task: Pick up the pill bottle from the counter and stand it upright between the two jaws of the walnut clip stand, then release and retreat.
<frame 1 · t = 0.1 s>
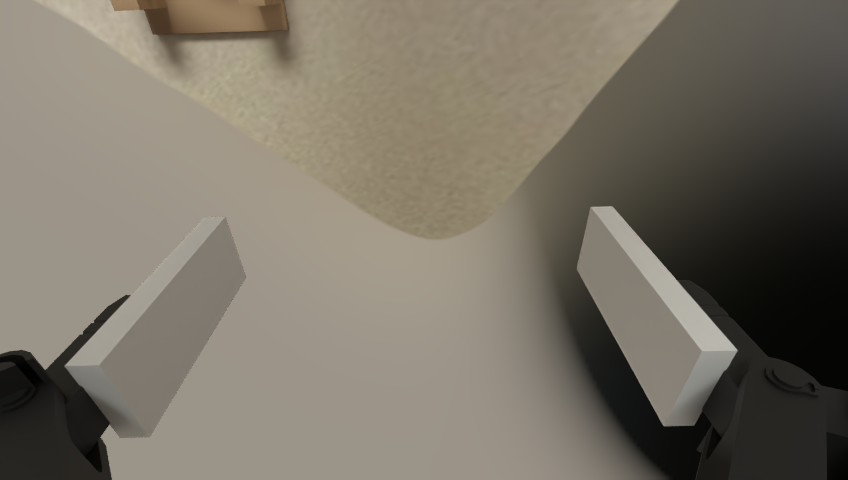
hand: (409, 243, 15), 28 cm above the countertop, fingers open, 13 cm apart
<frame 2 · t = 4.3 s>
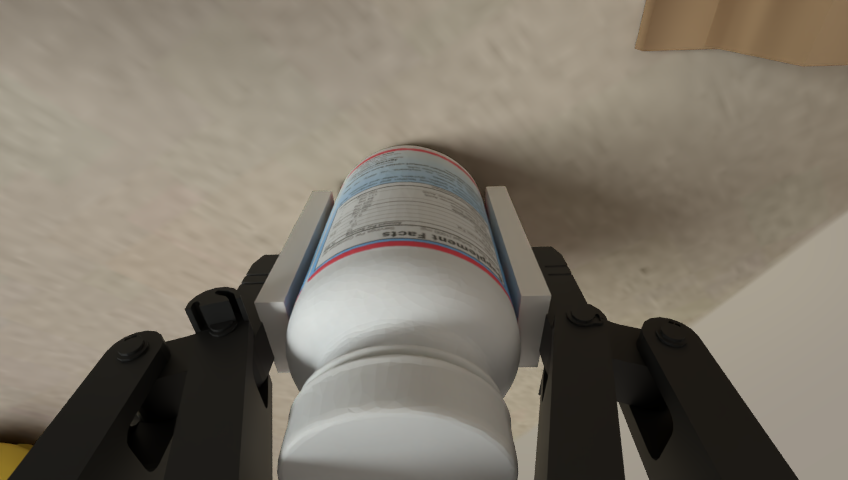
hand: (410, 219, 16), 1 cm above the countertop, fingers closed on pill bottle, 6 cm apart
teapot: (18, 464, 28), on the countertop
pill bottle: (411, 206, 17), on the countertop, touching gripper
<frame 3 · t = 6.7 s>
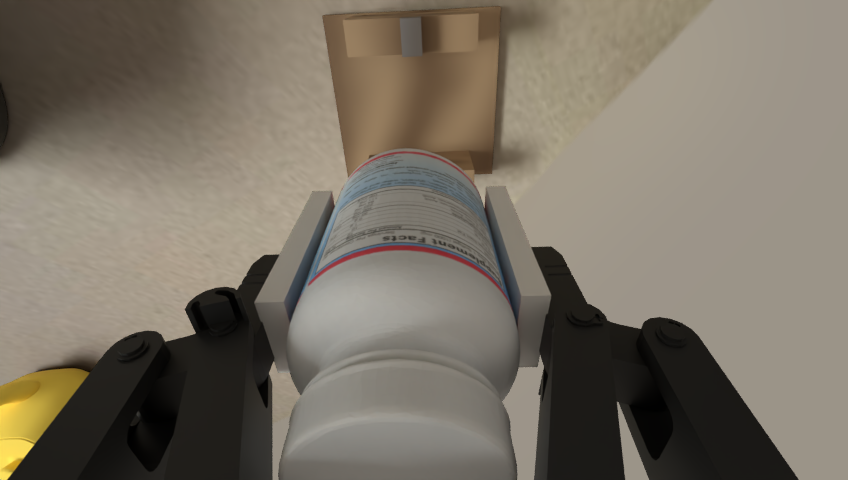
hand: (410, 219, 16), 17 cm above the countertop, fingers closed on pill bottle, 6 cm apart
teapot: (79, 386, 48), on the countertop
pill bottle: (411, 208, 17), point 16 cm above the countertop, touching gripper
clip stand: (416, 101, 30), on the countertop
when the fingers open (3 cm above the countertop, at t = 9.0 s): pill bottle drops 1 cm, resting on clip stand.
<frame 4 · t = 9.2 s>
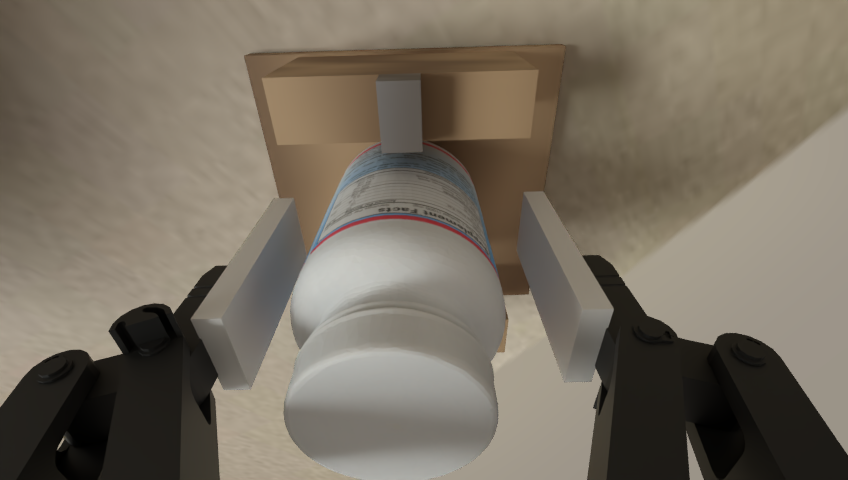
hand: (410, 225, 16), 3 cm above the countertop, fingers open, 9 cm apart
pill bottle: (408, 196, 18), resting on clip stand
clip stand: (411, 190, 18), on the countertop
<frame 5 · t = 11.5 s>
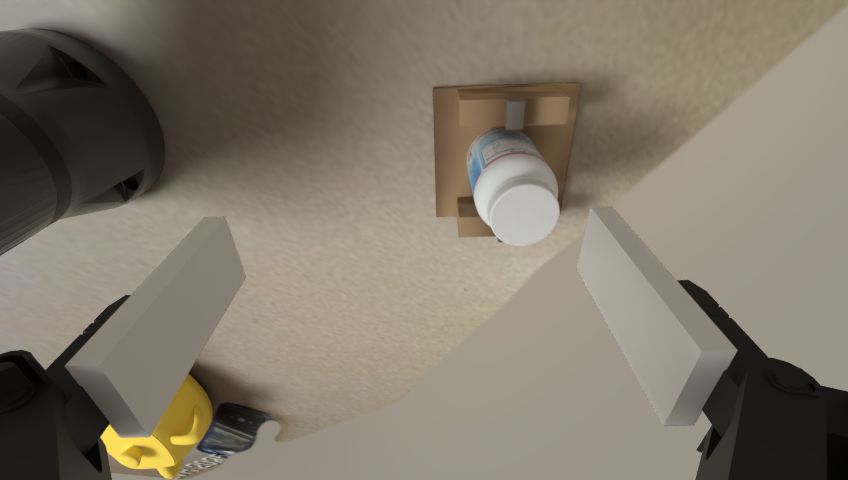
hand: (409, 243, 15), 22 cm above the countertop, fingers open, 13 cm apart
teapot: (174, 384, 55), on the countertop
pill bottle: (499, 156, 36), resting on clip stand
clip stand: (500, 154, 36), on the countertop
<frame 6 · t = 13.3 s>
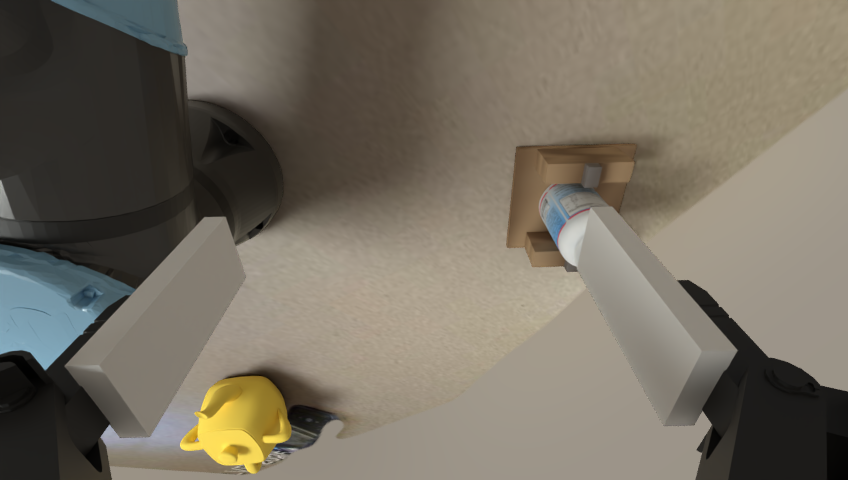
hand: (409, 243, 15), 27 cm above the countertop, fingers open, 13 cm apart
teapot: (253, 389, 61), on the countertop
pill bottle: (565, 200, 43), resting on clip stand
clip stand: (565, 198, 43), on the countertop
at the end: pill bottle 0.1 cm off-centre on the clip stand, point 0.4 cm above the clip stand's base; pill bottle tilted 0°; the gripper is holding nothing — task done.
